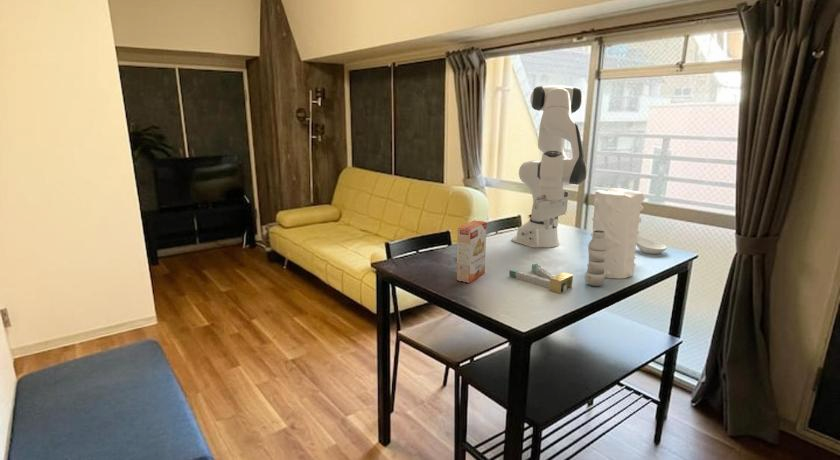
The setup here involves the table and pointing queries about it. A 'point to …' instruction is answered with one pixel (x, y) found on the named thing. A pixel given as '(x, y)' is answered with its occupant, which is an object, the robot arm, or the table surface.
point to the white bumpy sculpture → (618, 228)
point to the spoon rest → (649, 246)
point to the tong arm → (541, 271)
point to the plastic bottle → (596, 259)
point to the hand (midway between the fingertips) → (548, 229)
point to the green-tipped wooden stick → (534, 279)
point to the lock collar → (560, 281)
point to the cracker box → (471, 251)
